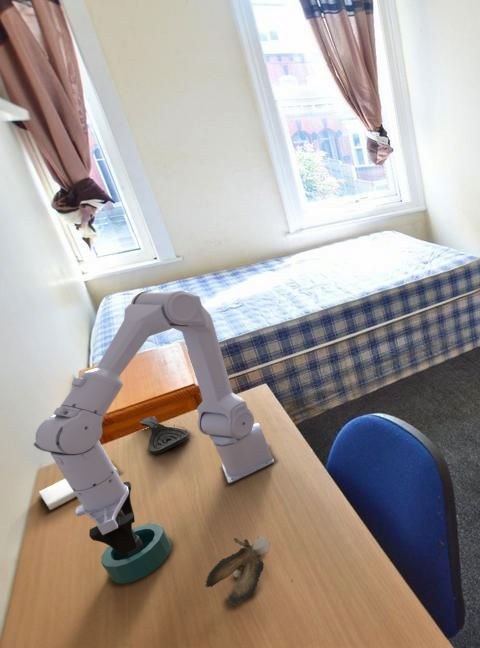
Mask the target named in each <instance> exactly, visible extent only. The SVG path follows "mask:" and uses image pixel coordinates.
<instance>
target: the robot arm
mask: <svg viewBox="0 0 480 648" xmlns="http://www.w3.org/2000/svg"><path fill="white" fill-rule="evenodd" d="M172 329H173V330H176V331H178V332H181V333H182V336H183V340H184V343H185V346H186V349H187V352H188V356H189V359H190V362H191V366H192V368H193V369H192V370H193V372H194V375H195V379H196V383H197V385H198V388H199V392H200V395H201V398H202V401H201V402H200V404H199V405H198V406H197V408H196V409H197V413H198V419H197V428H198V430H199V431H200V433H201V434H203V435H205V436H208V437H209V438H210V440H211V441H212V442H213V444H214V447H215V449H216V452H217V454H218V456H219V458H220V460H221V463H222V465H221V467H222V470H223V473H224V475H225V479H226V481H227V483H228V484H232V483H234V482H236V481H238V480H240V479H242V478H245V477H247V476H249V475H251V474H253V473H255V472H257V471H259V470H262V469H263V468H266V467H267V466H270V465H272V464H273V463H274V462H275V460H274V458H273V454H272V452H271V447H270V444H269V442H267V439H266V438H265V434H264V432H263V430H262V428H261V426H260V424H259V422H255V416H254V413H253V412H252V410H250V409H249V407H248V405H247V402H246V400H245V399H243V398H242V397H240V396H238V395H237V394H236V393H234V392H233V388H232V386H231V381H230V379H229V375H228V371H227V367H226V364H225V360H224V357H223V352H222V350H221V345H220V342H219V339H218V335H217V332H216V328H215V324H214V320H213V318H212V315H211V314H210V313H209V312H208V310H207V309H206V308H205V307H204V306H203V304H202V301H201V297H200V296H199V295H197V294H194V293H192V292H189V291H186V290H175V291H174V290H151V289H150V290H149V289H145V290H142V291H139V292H138V293H136V294H135V295H134V296H133V297H132V299H131V301H130V303H129V304H128V305H127V306H126V307H125V309H124V318H123V321H122V322H121V324H120V325H119V328H118V330H117V331H116V332H115V335H114V337H113V338H112V340H111V342H110V344H109V345H108V347H107V349H106V351H105V352H104V354H103V356H102V358H101V359H100V360H99V363H98V365H97V366H96V367H95V368H93V369H90V370H87V371H84V372H83V373H81V375H80V377H75V378H74V379H73V381H72V383H71V386H73V387H72V389H70V391H69V393H68V394H67V396H66V397H65V398H64V400H63V401H62V403H61V404H60V406H59V407H56V408H55V410H54V412H53V415H52V416H49V418H48V419H45V420H43V422H41V423H40V424H39V426H38V427H37V429H36V432H35V438H34V439H35V442H33V446H34V447H35V448H36V449H37V450H39V451H41V452H46V453H50V455H51V457H52V460H54V462H55V463H56V465H57V468H58V469H59V471H60V473H61V474H62V476H63V477H64V479H66V480H67V482H68V484H69V485H70V487H71V488H72V490H73V491H74V493H75V495H76V496H77V497H76V498H77V499H78V501H79V503H80V505H79V506H77V507H76V508H75V511H74V514H75V515H76V517H82V516H84V515H86V516H88V517H89V519H91V520H92V521H93V522H94V523H96V526H94V527H91V528H89V535H88V537H90V539H91V540H92V541H95V542H99V543H103V544H105V545H107V546H110V547H112V548H113V549H114V550H115V551H117V552H118V553H120V554H121V555H124V554H126V553H128V552H130V551H132V550H134V549H136V540H135V537H134V534H133V530H132V529H133V523H135V521H136V520H135V513H134V509H133V506H132V501H131V491H132V483H131V482H130V481H125V482H123V480H122V478H121V476H120V474H118V473H117V471H116V469H117V468H116V467H115V468H116V469H115V468H114V466H115V465H114V463H113V462H112V460H111V459H110V457H109V454H108V453H107V452H106V450H105V448H104V447H103V444H102V443H101V441H100V440H101V439H102V436H103V422H104V417H105V415H106V414H107V412H108V411H109V409H110V407H111V405H112V404H113V403H114V401H115V400H116V398H117V396H118V394H119V393H120V392H121V390H122V388H123V386H124V383H123V381H122V379H121V378H122V377H121V375H122V374H123V373H124V371H125V370H126V368H128V366H129V364H130V363H131V361H132V360H133V359H134V357H135V356H136V355H137V354H138V352H139V351H140V349H141V348H142V346H143V345H144V344H145V342H147V340H148V339H149V338H150V337H151V336H154V335H157V334H161V333H164V332H167V331H170V330H172ZM113 465H114V466H113ZM119 510H122V512H123V513H124V515H125V516H123V517H119V516H118V517H117V514H118V512H119Z"/></svg>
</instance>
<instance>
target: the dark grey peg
mask: <svg viewBox="0 0 480 648" xmlns="http://www.w3.org/2000/svg"><path fill="white" fill-rule="evenodd" d="M118 516H119V517H123V516H125V515H124V513H123V512H122V510H119V512H118V514H117V517H118ZM132 530H133V528H132ZM133 534H134V537H135V540H136V549H134V550H132V551H130V552H128V553H127V554H128V556H129V557H132V556H134V555H136V554H138V553H139V552H141V551H142V550H143V549H145V547H144V545H143V543H142V542H141V540H140V538H139V536H137V535H136V534H135V532H134V531H133Z"/></svg>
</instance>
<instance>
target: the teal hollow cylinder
mask: <svg viewBox="0 0 480 648" xmlns="http://www.w3.org/2000/svg"><path fill="white" fill-rule="evenodd" d="M132 529H133V531H134V532H135V534H136V535H137V536H139V538H140V540H141V542H142V543H143V545H144V547H145V549H143V550H142V551H141V552H139V553H138V554H136V555H134V556H132V557H129V556H128V554H127V553H126V554H124V555H121V554H120V553H118V552H117V551H115V550H114V549H113V548H112V547H110V546H109V545H107V546H106V548H105V549H104V551H103V553H102V555H101V556H100V557H101V558H100V559H101V562H100V564H101V565H102V566H103V568H104V570H105V572H106V574H108V576H109V577H110V578H111V580H112V581H113V582H114V583H116V584H129V583H132V582H135V581H138V580H140V579H143V578H144V577H146V576H148V575H149V574H151V573H152V572H154V571H155V570H156V569H157V568H159V567H160V566H161V565H162V564H163V563H164V562H165V561H166V560H167V558H168V557H169V555H170V553H171V551H172V544H171V541H170V539H169V537H168V534H167V533H166V531H165V529H164V528H163V526H162V525H160V524H158V523H145V524H141V525H138V526H136V527H134V528H133V527H132Z"/></svg>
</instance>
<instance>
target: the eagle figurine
mask: <svg viewBox="0 0 480 648" xmlns="http://www.w3.org/2000/svg"><path fill="white" fill-rule="evenodd" d="M233 541H234V542H235V543H236V544H239V545H240V546H242V547H240V548H239V550H238V551H236V552H235V553H232V554H230V556H229V555H228V556H227V557H224V558H222V559H221V560H219V561H218V562H217V563H216V564H215V565H214V567H213V568H212V569H211V570H210V571H209V573H208V575H207V577H206V580H205V584H204V587H205V588H212V587H214V586H216V585H217V584H218V583H220V582H221V581H224V580H225V579H227V578H229V577H230V576H231V575H232V574H233V576H234V579H235V578H237V580H236V583H235V585H234V587H233V588H232V590H231V592H230V593H229V594H228V596H227V600H228V603H229V604H230V605H231V606H236V605H238V604H241V603H242V602H244V600H248V598H249V597H251V596H252V594H254V592H255V591H256V588H257V587H258V583H259V582H260V579H259V578H261V575H262V573H263V571H264V565H265V564H264V562H263V561H262V559H261V557H262V556H263V555H266V554H268V553H269V551H270V545H271V542H270V541H269V538H267V537H264V536H261V537H260V536H258V537H256V538H254V541H253V543H252V545H251V544H250V542H249V540H248V539H247V538H244V539H243V541H242V540H240V539H238V538H237V537H233Z"/></svg>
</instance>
